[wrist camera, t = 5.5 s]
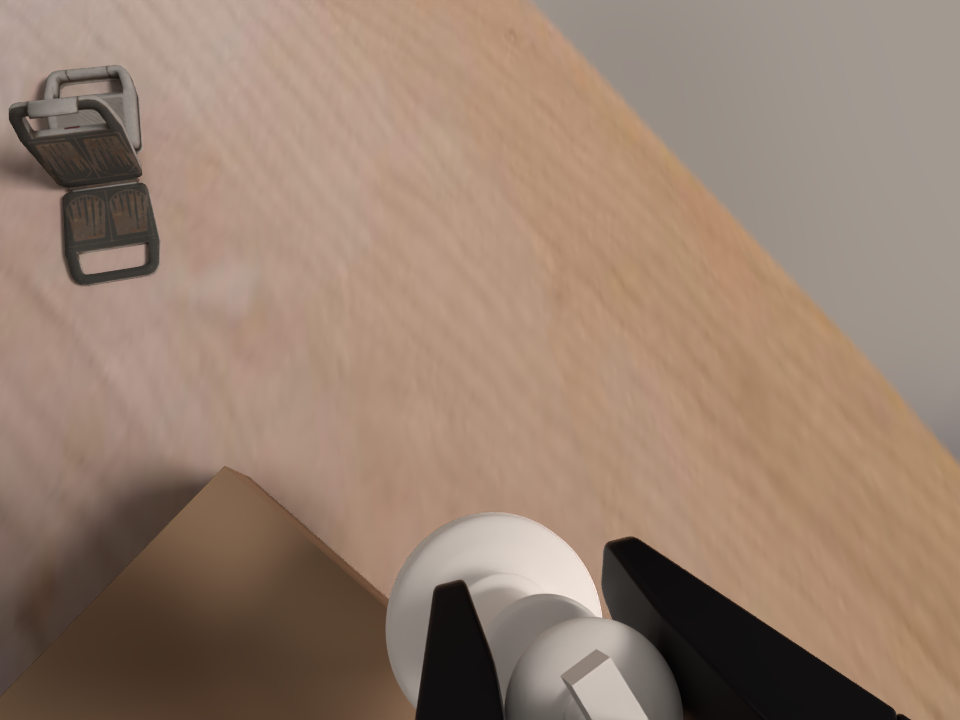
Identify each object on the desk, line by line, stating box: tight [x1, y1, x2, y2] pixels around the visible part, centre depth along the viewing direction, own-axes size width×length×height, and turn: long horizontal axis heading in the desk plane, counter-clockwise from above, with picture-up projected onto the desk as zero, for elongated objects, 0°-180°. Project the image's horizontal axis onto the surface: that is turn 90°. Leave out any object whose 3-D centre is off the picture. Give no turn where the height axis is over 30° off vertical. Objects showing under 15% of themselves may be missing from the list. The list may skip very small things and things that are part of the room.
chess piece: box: [386, 512, 684, 720], centre depth 10 cm, size 5×5×10 cm
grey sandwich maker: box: [9, 65, 160, 286], centre depth 21 cm, size 8×3×4 cm, turn 15°
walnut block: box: [0, 466, 416, 720], centre depth 17 cm, size 9×9×4 cm
